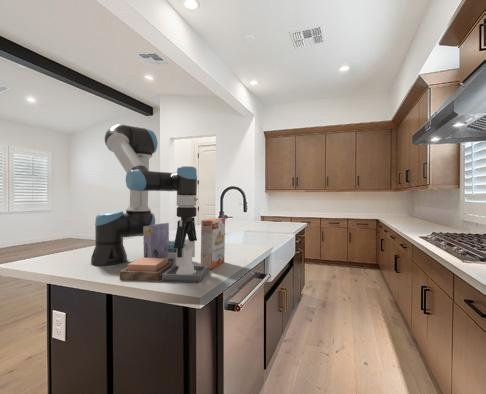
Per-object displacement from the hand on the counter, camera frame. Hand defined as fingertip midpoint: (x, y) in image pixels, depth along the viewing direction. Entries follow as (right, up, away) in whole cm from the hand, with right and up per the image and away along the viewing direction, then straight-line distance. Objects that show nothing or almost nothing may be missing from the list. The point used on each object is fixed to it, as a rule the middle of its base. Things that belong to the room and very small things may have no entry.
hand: (186, 261), depth 104 cm
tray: (0, -6, 0) cm, 6 cm away
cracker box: (+9, -6, +16) cm, 19 cm away
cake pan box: (-19, -6, +24) cm, 31 cm away
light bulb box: (-8, -6, +21) cm, 23 cm away
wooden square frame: (-16, -6, +2) cm, 17 cm away
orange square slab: (-16, -3, +2) cm, 16 cm away
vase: (0, -5, 0) cm, 5 cm away
